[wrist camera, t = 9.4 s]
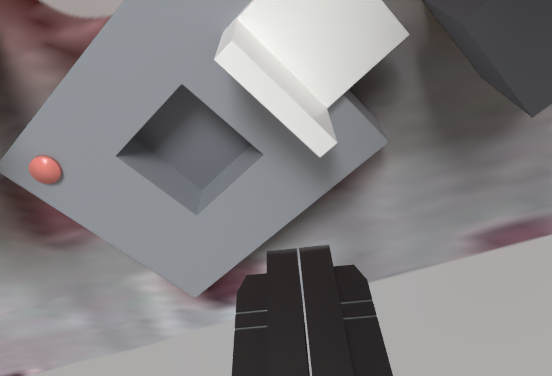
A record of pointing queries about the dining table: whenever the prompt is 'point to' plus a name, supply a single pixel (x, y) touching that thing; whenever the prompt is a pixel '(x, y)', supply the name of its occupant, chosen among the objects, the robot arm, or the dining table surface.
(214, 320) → the dining table surface
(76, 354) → the dining table surface
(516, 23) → the plug
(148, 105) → the socket
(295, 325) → the robot arm
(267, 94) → the white l-shaped bracket
